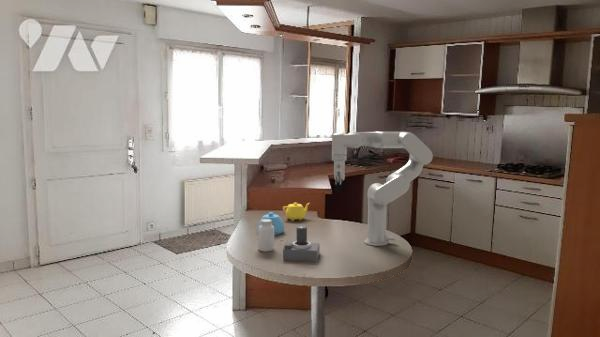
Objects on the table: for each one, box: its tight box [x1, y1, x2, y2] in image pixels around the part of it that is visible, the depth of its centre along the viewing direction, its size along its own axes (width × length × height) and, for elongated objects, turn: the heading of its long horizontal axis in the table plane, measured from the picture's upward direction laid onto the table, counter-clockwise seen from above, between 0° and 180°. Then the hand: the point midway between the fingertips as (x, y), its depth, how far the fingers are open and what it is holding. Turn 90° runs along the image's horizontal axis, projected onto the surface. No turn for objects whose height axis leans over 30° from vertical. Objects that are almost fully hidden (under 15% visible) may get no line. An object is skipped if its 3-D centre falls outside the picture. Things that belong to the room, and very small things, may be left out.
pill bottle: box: [257, 219, 275, 252], centre depth 232 cm, size 8×8×15 cm
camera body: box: [282, 240, 321, 262], centre depth 222 cm, size 16×12×7 cm
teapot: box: [282, 202, 311, 222], centre depth 294 cm, size 18×11×11 cm, turn 105°
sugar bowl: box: [257, 211, 285, 236], centre depth 263 cm, size 15×15×12 cm
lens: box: [295, 225, 308, 245], centre depth 221 cm, size 5×5×9 cm
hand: (338, 190), depth 239 cm, fingers open, 9 cm apart
